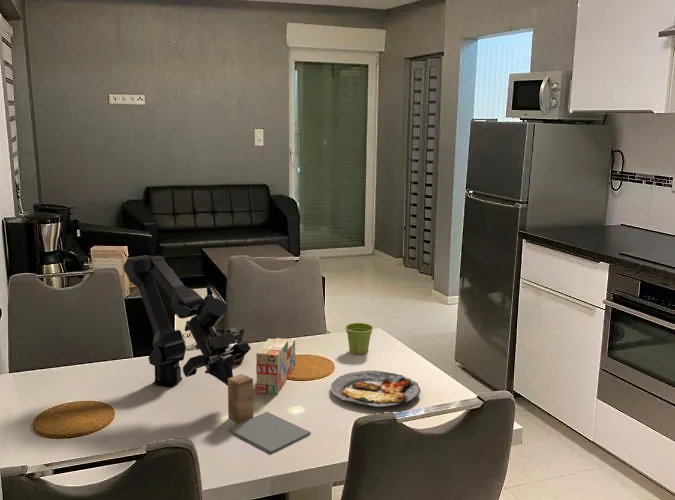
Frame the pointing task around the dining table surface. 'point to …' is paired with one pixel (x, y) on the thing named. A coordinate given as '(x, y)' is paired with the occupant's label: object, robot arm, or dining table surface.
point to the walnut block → (240, 398)
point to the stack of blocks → (274, 365)
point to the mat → (269, 432)
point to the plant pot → (358, 337)
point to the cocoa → (236, 343)
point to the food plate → (375, 388)
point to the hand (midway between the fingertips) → (232, 386)
